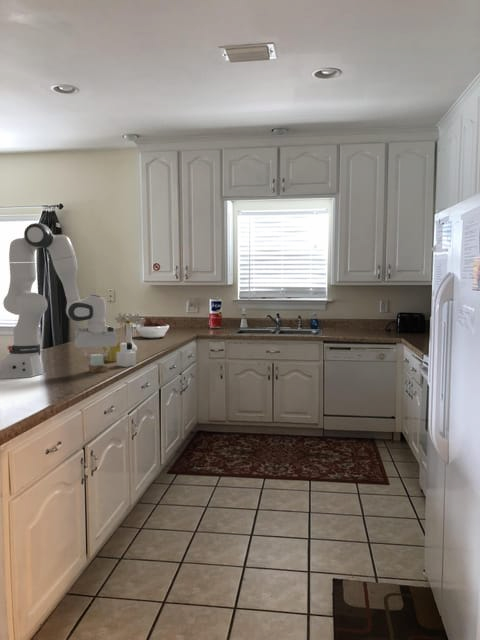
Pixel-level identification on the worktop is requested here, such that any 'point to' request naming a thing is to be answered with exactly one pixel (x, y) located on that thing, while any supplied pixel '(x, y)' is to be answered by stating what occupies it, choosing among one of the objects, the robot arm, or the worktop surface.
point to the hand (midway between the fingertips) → (96, 356)
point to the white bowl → (153, 328)
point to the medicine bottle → (126, 355)
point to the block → (98, 368)
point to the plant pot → (112, 352)
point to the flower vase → (130, 326)
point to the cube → (96, 359)
